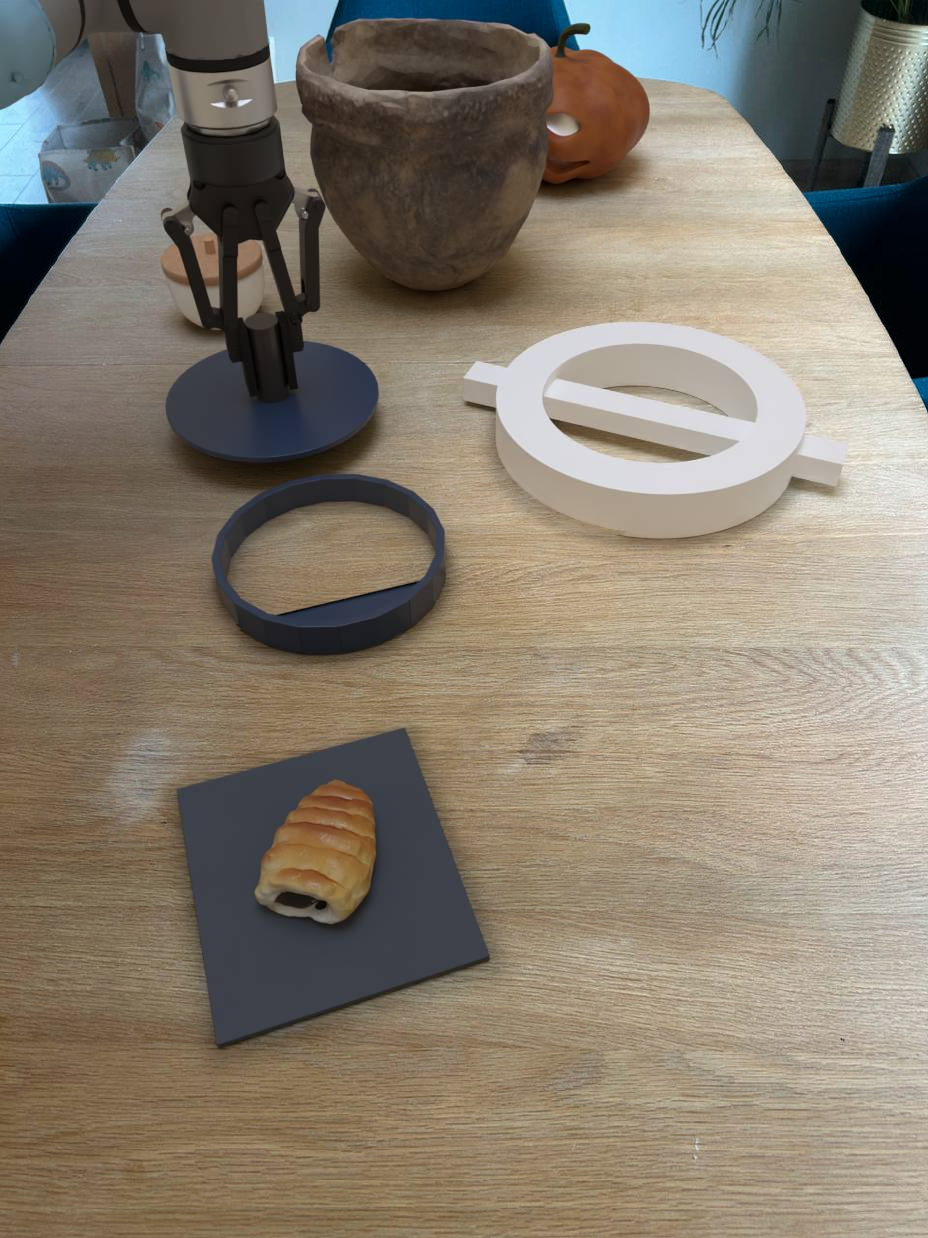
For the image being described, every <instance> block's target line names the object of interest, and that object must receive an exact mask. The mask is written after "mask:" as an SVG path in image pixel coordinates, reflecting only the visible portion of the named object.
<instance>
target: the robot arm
mask: <svg viewBox="0 0 928 1238" xmlns="http://www.w3.org/2000/svg"><path fill="white" fill-rule="evenodd" d="M267 24H268V23H267V17H266V7H265V0H0V111H2V110H4V109H8V108H9V107H11V106H12V105H14V104H15V103H18V102H19V101H20V100H22V99H23V98H25V97H27V96H30V95H31V94H34V93H35V92H36V91H37V90H38V89H39V88H40V87H42V86H43V85H44V84H45V83H46V81H47V79H48V78H49V75H50V74H51V73H52V72H53V70H54V69H55V68H56V67H57V66H58V65H59V64H60V63H61V62H62V61H63V60H64V59H65V58H66V57H68V56H69V55H70V54H71V53H73V52H74V51H75V50H76V49H77V48H78V47H79V46H80V45H81V44H82V43H83V42H84V41H85V40H86V39H87V38H89V36H90V35H91V34H96V33H136V34H137V33H139V34H143V33H144V34H148V33H152V32H153V33H155V32H156V33H160V36H161V38H162V42H163V44H164V50H165V51H164V52H165V57H166V61H167V67H168V72H169V78H170V82H171V88H172V94H173V98H174V103H175V109H176V114H177V116H178V119H180V120H181V121H182V122H183V124H182V126H181V127H180V135H181V139H182V144H183V151H184V156H185V160H186V165H187V171H188V175H189V187H188V190H187V192H186V201H184V202H182V203H180V204H179V205H178V206H176V207H175V208H171V207H165V208H163V209H162V210H161V211H160V219H161V222H162V226H163V229H164V231H165V233H166V234H167V235H168V237H169V238H170V239H171V241H172V242H173V244H175V245H176V246H177V247H178V249H179V252H180V255H181V258H182V262H183V265H184V268H185V271H186V275H187V278H188V281H189V284H190V287H191V291H192V294H193V297H194V300H195V304H196V307H197V310H198V313H199V317H200V320H201V323H202V326H203V327H204V328H203V329H204V330H205V329H206V330H209V329H212V328H219V329H221V330H220V331H222V332H223V337H224V342H225V347H226V349H227V352H228V355H229V358H230V360H231V361H232V363H236V362H242V366H243V372H244V378H245V383H246V386H247V389H248V392H249V395H250V397H255V396H258V390H257V384H256V379H255V373H254V367H253V361H252V355H251V349H250V343H249V338H248V332H247V329H246V326H245V324H244V320H243V318H242V317H240V318H238V277H237V257H238V244H240V243H243V242H245V241H248V240H255V241H257V242H258V241H259V242H262V245H263V248H264V251H265V254H266V258H267V261H268V264H269V268H270V270H271V274H272V277H273V280H274V283H275V287H276V289H277V293H278V296H279V300H280V302H281V305H282V306H281V307H282V308H283V310H278V311H277V310H276V311H275V312H274V315H275V316H276V317H277V318H278V320H279V327H280V334H281V341H282V348H283V355H284V361H285V368H286V375H287V382H288V386H289V388H290V390H294V389H298V384H297V377H296V370H295V362H294V355H293V353H294V352H300V351H303V348H304V341H305V340H304V335H303V333H304V332H303V327H302V324H303V321H304V320H303V317H304V316H305V315H307V314H308V313H317V312H318V311H319V310H320V308H321V276H320V274H321V273H320V271H321V270H320V266H321V265H320V226H321V223H322V220H323V217H324V215H325V211H326V209H327V206H326V204H325V201H324V198H323V196H321V193H320V192H319V191H318V189H316V188H313V187H311V188H309V189H307V190H305V189H302V188H299V187H296V186H294V184H293V183H292V181H291V178H290V177H289V176H288V174H287V171H286V165H285V164H286V163H285V156H284V147H283V139H282V131H281V124H280V121H279V119H278V118H277V117H276V116H275V113H277V111H278V101H277V94H276V93H277V92H276V86H275V80H274V79H275V78H274V72H273V64H272V57H271V48H270V41H269V34H268V32H269V31H268V25H267ZM291 204H294V205H293V206H294V207H293V209H294V212H295V214H296V216H297V218H298V241H299V243H298V244H299V273H300V275H299V276H300V293H298V294H296V293H295V290H294V287H293V284H292V280H291V277H290V273H289V270H288V267H287V264H286V260H285V257H284V254H283V249H282V245H281V242H280V238H279V235H278V232H277V230H278V228H279V226H280V225H281V223H282V220H283V219H284V218H285V216H286V214H287V212H288V210H289V209H290V206H291ZM195 217H197V218H198V219H199V220H200V221H202V223H203V224H204V225H205V226H206V227H207V228H208V229H210V230H211V232H212V233H215V234H216V235H217V241H218V263H219V306H220V308H215V307H211V304H210V300H209V297H208V293H207V290H206V287H205V283H204V280H203V277H202V273H201V270H200V266H199V263H198V260H197V256H196V253H195V250H194V247H193V243H192V240H191V237H192V236H191V235H193V234H194V232H195V226H194V223H193V220H194V218H195Z"/></svg>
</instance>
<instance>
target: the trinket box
mask: <svg viewBox="0 0 928 1238" xmlns="http://www.w3.org/2000/svg"><path fill="white" fill-rule="evenodd" d="M190 237H191V240H192V243H193V247H194V250H195V253H196V256H197V260H198V263H199V266H200V270H201V273H202V277H203V280H204V283H205V287H206V290H207V293H208V297H209V300H210V304H211V307H215V308H220V306H219V263H218V241H217V235H216V234H215V233H214V232H210V233H201V234H197V235H192V236H190ZM263 256H264V255H263V251H262V247H261V245H260V244H259V243H258V241H257V240H248V241H245V242H243V243H240V244H238V257H237V277H238V318H240V317H242V318H243V320H244V322H245V320H246V318H248V317H249V316H251V315H254V314H257V312H258V311H259V309H260V307H261V305H262V303H263V299H264V295H265V285H266V283H265V282H266V281H265V279H266V278H265V269H264V263H263V260H264V257H263ZM160 266H161V270H162V272H163V274H164V277H165V280H166V284H167V288H168V291H169V293H170V295H171V298H172V300H173V302H174V304H175V306H176V307H177V309H178V310H179V312H180V313H181V314H182V315H183V316H184V317H185V318H186V319H187V320H188V321H190V322H191V323H193V324H195V325H196V326H198V327H200V328H203V329H205V328H204V327H203V326H202V323H201V320H200V317H199V313H198V310H197V307H196V304H195V300H194V297H193V294H192V291H191V287H190V284H189V281H188V278H187V275H186V271H185V268H184V265H183V262H182V258H181V255H180V252H179V249H178V247H177V246H176V245H175V243H172V244H171V245H170V246H169V247H167V248H166V249H165V250H164V251H163V253H162V255H161V258H160ZM208 330H211V331H222V330H221V329H219V328H212V329H208Z"/></svg>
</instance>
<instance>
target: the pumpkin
mask: <svg viewBox="0 0 928 1238" xmlns="http://www.w3.org/2000/svg"><path fill="white" fill-rule="evenodd" d="M590 33H591V24H590V23H586V22H577V23H573V24H570V25H568V26H567V27H565V28H564V29H563V31H561V33H560V35H559V37H558V40H557V45H556V46H552V47H550V50H551V56H552V64H553V72H554V74H553V81H552V84H553V92H554V94H553V102H552V104H551V105H550V107H549V108H548V110H547V111H546V116H545V117H546V123H547V129H548V155H547V159H546V168H545V170H544V173H543V176H542V180H543V181H545V182H548V183H550V184H554V185H559V184H562V183H563V184H564V183H565V182H568V181H570V180H572V179H580V180H588V179H594V178H598V177H600V176H603V175H605V174H607V173H608V172H610V171H612V170H614V169H615V168H616V167H617V166H618V165H619V164H620V163H621V162H622V161H623V160H624V159H625V158H626V156H627V155H628V153H629V152H631V151H632V150H633V149H634V148H635V147H636V146H637V144H638V143H639V142H640V141H641V139H642V138H643V136H644V134H645V133H646V130H647V128H648V125H649V123H650V118H651V117H650V116H651V108H650V101H649V97H648V94H647V92H646V90H645V87H643V85H642V84H641V82H640V81H639V80H638V78H637V77H636V76H635V75H633V73H632V72H630V71H629V70H627V68H626V67H623V65H621V64H618V63H616V62H615V61H614V60H612V59H611V57H609V56H607V55H606V54H604V53H602V52H600V51H597V50H594V49H589V48H588V49H587V48H586V49H585V48H584V49H577V50H573V49H571V48H568V47H566V44H567V42H568V39H569V38H571V36H575V35H581V36H582V35H583V36H587V35H588V34H590Z"/></svg>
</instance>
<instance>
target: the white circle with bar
mask: <svg viewBox="0 0 928 1238" xmlns="http://www.w3.org/2000/svg"><path fill="white" fill-rule="evenodd" d="M627 386H628V387H629V386H634V387H635V386H638V387H639V386H640V387H651V388H652V387H653V388H659V389H666V390H672V391H675V392H679V393H682V394H685V395H689V396H692V397H695V398H697V399H699V400H702V401H703V402H706V403H708V404H710V405H711V406H714V407H715V408H717V409H718V410H719V411H721V412H723V413H724V415H722V414H719V413H713V412H709V411H704V410H699V409H695V408H691V407H687V406H682V405H677V404H673V403H667V402H665V401H660V400H655V399H650V398H647V397H641V396H636V395H633V394H627V393H624V392H619V391H614V390H609V389H608V388H613V387H627ZM462 400H463V401H464V402H465V401H466V402H470V403H474V404H478V405H482V406H487V407H491V408H495V446H496V451H497V454H498V457H499V459H500V462H501V464H502V465H503V468H504V469H505V471H506V472H507V473H508V475H509V476H510V477H511V478H512V480H513V481H514V482H515V483H516V484H517V485H518V486H519V487H520V488H521V489H522V490H523V491H525V492H526V493H527V494H528V495H530V496H531V497H532V498H533V499H535V500H537V501H538V502H540V503H541V504H543V505H544V506H546V507H548V508H549V509H552V510H553V511H555V512H558V513H560V514H562V515H564V516H567V517H568V518H571V519H574V520H577V521H580V522H583V523H586V524H589V525H592V526H596V527H602V528H605V529H609V530H616V531H619V532H618V533H615V536H616V535H617V536H623V537H629V538H630V537H631V538H638V539H639V538H640V539H662V540H663V539H664V540H665V539H680V538H691V537H699V536H703V535H710V534H714V533H718V532H721V531H724V530H728V529H731V528H734V527H736V526H739V525H740V524H743V523H746V522H748V521H750V520H752V519H754V518H756V517H757V516H759V515H761V514H763V512H765V511H766V510H768V509H769V508H770V507H771V506H773V505H774V504H775V503H776V502H777V501H778V500H779V499H780V498H781V497H782V495H783V494H784V493H785V491H786V489H787V488H788V486H789V485H790V482H791V481H792V478H798V479H802V480H807V481H811V482H815V483H820V484H823V485H828V486H830V487H831V486H832V487H837V486H838V482H839V481H840V476H841V473H842V470H843V468H844V463H845V461H846V457H847V454H848V450H849V447H850V443H848V442H844V441H839V440H835V439H830V438H826V437H823V436H816V435H813V434H809V433H805V431H806V426H807V417H808V416H807V408H806V405H805V401H804V400H805V399H804V397H803V395H802V393H801V391H800V390H799V388H798V386H797V385H796V383H795V382H794V381H793V380H792V379H791V377H790V376H789V375H788V374H787V373H786V372H785V370H783V369H782V368H781V367H780V366H778V364H776V363H775V362H773V361H772V360H771V359H769V358H768V357H767V356H765V355H764V354H762V353H760V352H759V351H757V350H755V349H753V348H752V347H749V346H747V345H745V344H744V343H741V342H738V341H736V340H734V339H732V338H729V337H726V336H724V335H720V334H718V333H714V332H711V331H708V330H703V329H699V328H695V327H690V326H685V325H680V324H673V323H666V322H665V323H663V322H652V321H617V322H606V323H598V324H590V325H586V326H581V327H578V328H572V329H570V330H566V331H563V332H559V333H557V334H554V335H551V336H549V337H547V338H545V339H542V340H540V341H538V342H537V343H535V344H533V345H531V346H529V347H528V348H526V349H525V350H524V351H522V352H521V353H519V355H517V356H516V357H515V358H514V359H513V360H512V361H511V362H510V363H509V364H508V365H507V367H506V366H501V365H497V364H493V363H489V362H483V361H480V360H479V361H478V360H476V361H475V362H474V363H473V364H472V366H471V367H470V368H469V370H467V372H466V374H465V375H464V376H463V377H462ZM551 419H552V420H557V421H561V422H565V423H569V424H574V425H578V426H583V427H585V428H590V429H595V430H599V431H604V432H607V433H612V434H617V435H620V436H624V437H628V438H634V439H637V440H642V441H645V442H646V441H647V442H650V443H654V444H659V445H663V446H666V447H667V446H668V447H671V448H676V449H680V450H683V451H689V452H692V453H697V454H702V455H705V456H706V457H702V458H698V459H692V460H685V461H676V462H649V461H648V462H647V461H637V460H630V459H625V458H619V457H617V456H616V457H615V456H611V455H609V454H605V453H602V452H599V451H596V450H594V449H591V448H589V447H587V446H585V445H583V444H581V443H578V442H577V441H575V440H573V439H572V438H570V437H569V436H567V435H566V434H565V433H564V432H563V431H562V430H560V429H559V428H558V427H557V426H556V425H555V424H554V422H553V421H552V420H551Z"/></svg>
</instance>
